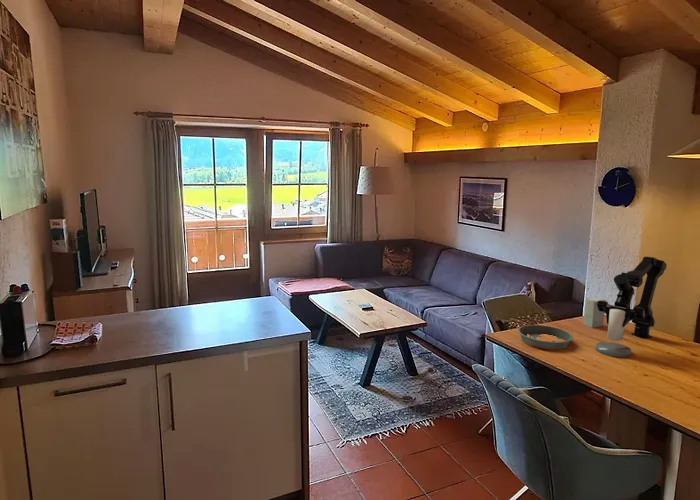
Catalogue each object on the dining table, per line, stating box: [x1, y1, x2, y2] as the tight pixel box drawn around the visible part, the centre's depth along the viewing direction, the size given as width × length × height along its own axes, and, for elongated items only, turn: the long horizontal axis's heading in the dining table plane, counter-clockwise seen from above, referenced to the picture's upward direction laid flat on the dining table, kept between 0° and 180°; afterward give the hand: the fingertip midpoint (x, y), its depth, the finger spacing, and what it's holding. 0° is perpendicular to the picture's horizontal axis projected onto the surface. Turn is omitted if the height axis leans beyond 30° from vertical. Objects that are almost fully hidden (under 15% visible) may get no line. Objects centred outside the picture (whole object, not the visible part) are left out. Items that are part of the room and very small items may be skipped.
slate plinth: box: [595, 341, 632, 359], centre depth 210 cm, size 14×14×2 cm
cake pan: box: [517, 324, 574, 350], centre depth 222 cm, size 25×25×4 cm
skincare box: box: [583, 296, 607, 329], centre depth 245 cm, size 8×6×15 cm
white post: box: [606, 309, 625, 342], centre depth 208 cm, size 6×6×13 cm
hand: (615, 325), depth 207 cm, fingers closed on white post, 6 cm apart
